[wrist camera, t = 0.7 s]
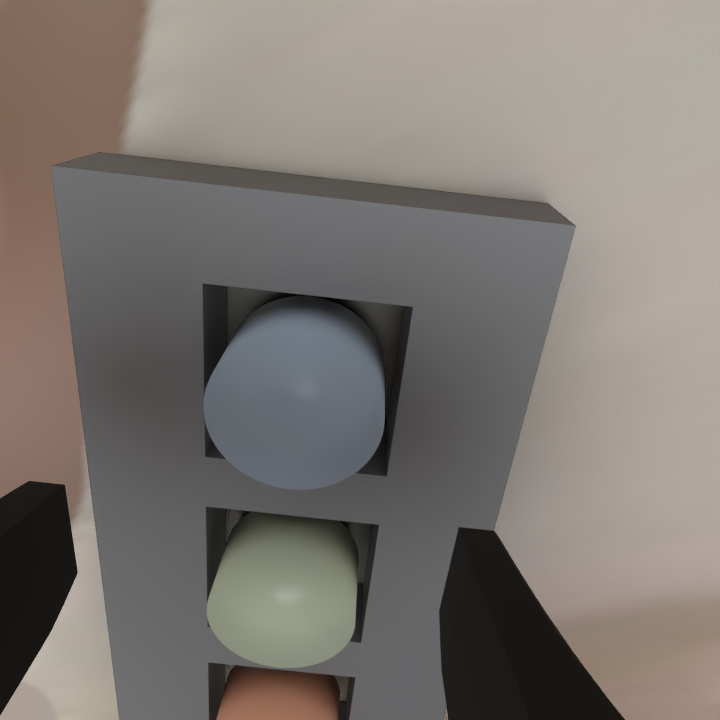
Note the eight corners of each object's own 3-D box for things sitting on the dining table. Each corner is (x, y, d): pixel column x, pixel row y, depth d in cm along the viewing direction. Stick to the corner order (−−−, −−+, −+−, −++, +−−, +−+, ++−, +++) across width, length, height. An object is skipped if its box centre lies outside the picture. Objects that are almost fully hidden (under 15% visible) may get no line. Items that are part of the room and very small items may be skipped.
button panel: (416, 744, 26) (419, 806, 24) (148, 717, 26) (126, 777, 24) (548, 203, 16) (575, 225, 13) (98, 152, 16) (50, 166, 13)
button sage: (352, 609, 21) (348, 674, 18) (226, 595, 21) (207, 660, 18) (365, 511, 19) (363, 571, 16) (227, 496, 19) (205, 555, 16)
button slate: (375, 443, 17) (373, 498, 15) (227, 427, 17) (204, 480, 15) (394, 305, 16) (396, 345, 13) (228, 287, 15) (202, 324, 13)
